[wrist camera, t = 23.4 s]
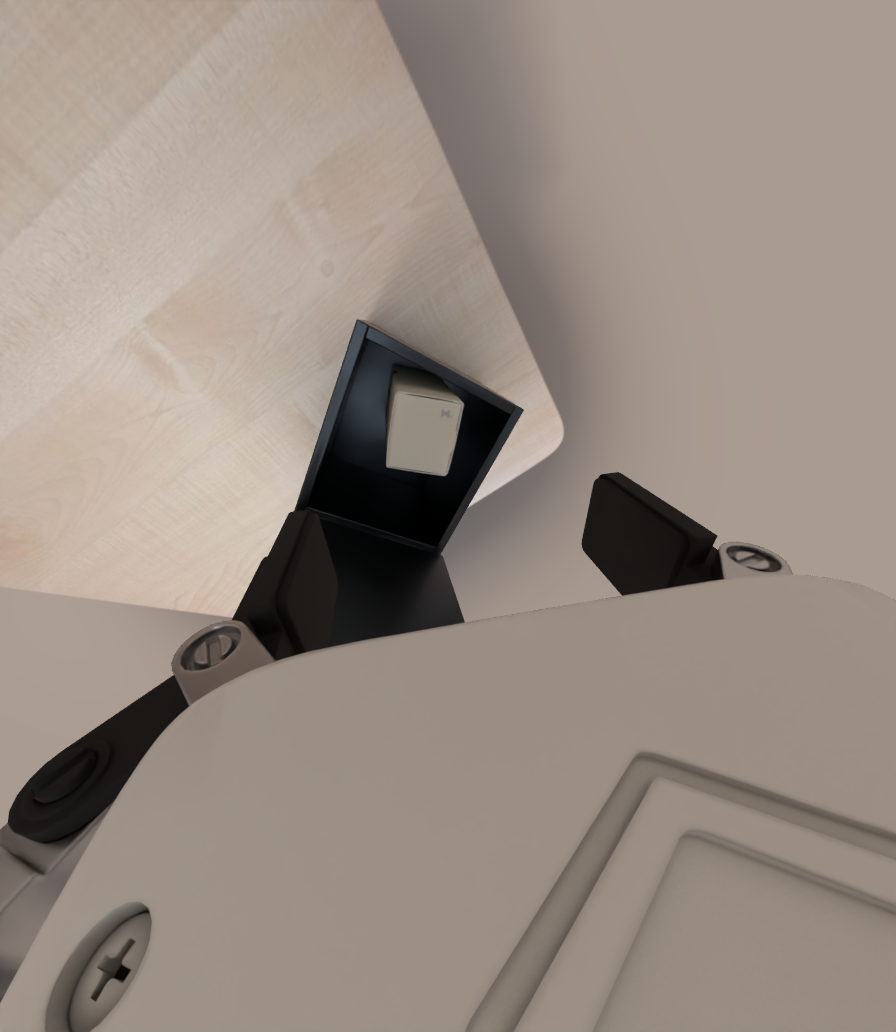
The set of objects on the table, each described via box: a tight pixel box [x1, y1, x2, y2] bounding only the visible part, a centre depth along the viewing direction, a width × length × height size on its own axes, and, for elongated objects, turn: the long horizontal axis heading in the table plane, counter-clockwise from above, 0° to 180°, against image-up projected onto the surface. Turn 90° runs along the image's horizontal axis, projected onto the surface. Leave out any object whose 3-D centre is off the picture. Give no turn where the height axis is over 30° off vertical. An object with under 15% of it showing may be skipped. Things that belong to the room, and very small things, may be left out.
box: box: [385, 364, 464, 476], centre depth 26 cm, size 5×4×13 cm
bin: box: [295, 319, 524, 555], centre depth 28 cm, size 13×12×12 cm
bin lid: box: [293, 511, 465, 648], centre depth 20 cm, size 14×12×5 cm
